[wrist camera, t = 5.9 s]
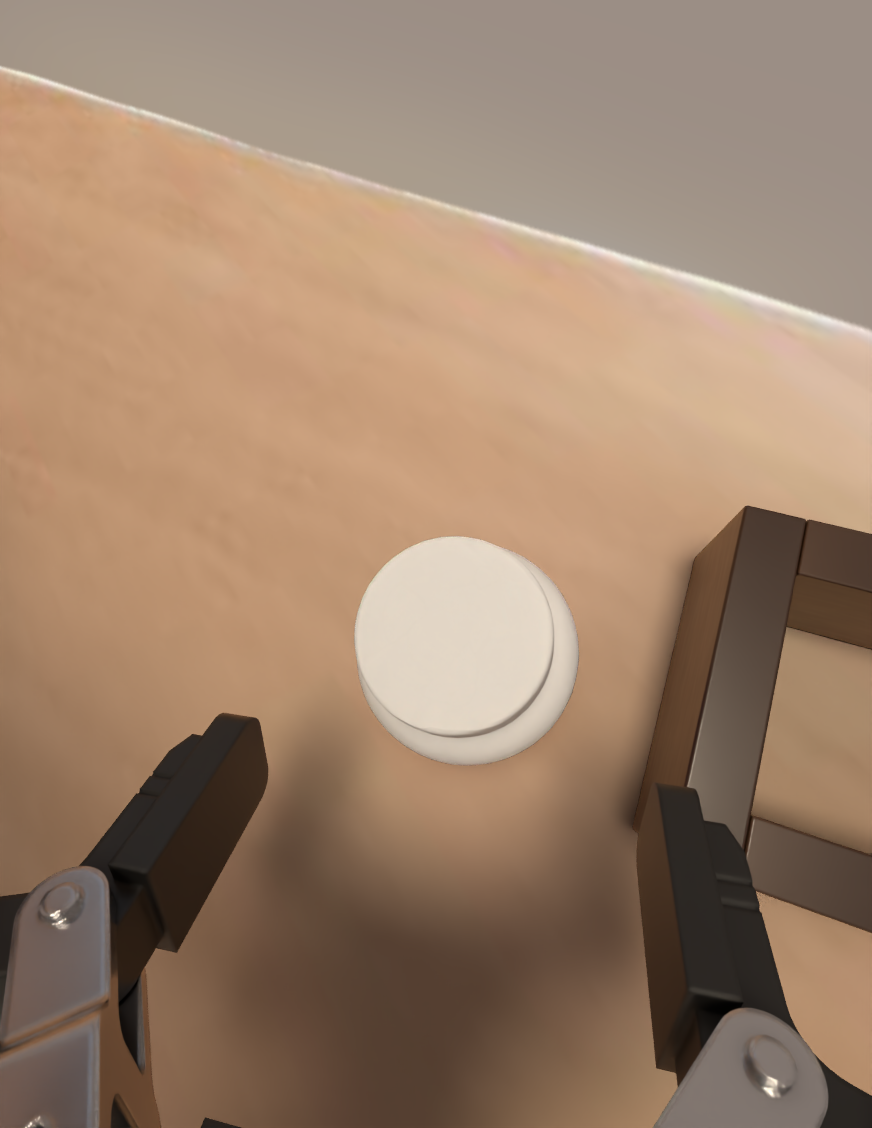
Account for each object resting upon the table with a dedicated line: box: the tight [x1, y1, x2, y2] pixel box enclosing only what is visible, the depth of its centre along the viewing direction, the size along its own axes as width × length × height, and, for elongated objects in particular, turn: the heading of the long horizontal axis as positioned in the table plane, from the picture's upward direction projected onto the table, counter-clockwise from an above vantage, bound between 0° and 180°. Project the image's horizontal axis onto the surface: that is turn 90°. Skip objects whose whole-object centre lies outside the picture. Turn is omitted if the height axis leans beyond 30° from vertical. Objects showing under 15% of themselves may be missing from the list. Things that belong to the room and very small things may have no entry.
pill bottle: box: [354, 536, 579, 765], centre depth 16 cm, size 5×5×10 cm
